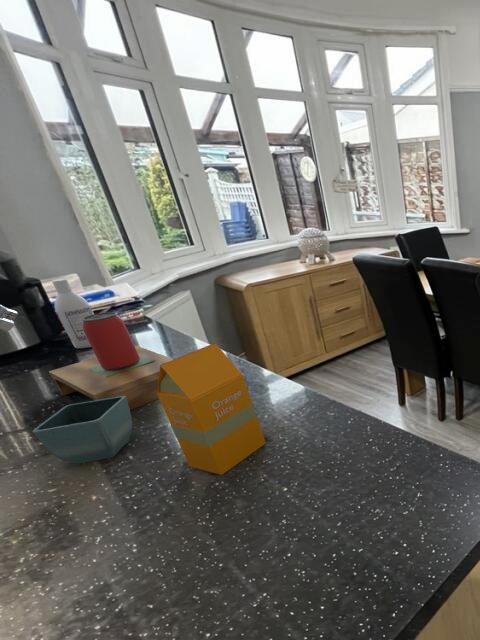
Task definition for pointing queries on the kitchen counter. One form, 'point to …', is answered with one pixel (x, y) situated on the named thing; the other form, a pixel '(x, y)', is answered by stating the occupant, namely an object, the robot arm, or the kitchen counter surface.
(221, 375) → the orange juice
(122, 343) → the beer can
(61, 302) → the bath foam
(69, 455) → the flower pot
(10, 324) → the robot arm
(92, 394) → the wooden slab
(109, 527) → the kitchen counter surface
